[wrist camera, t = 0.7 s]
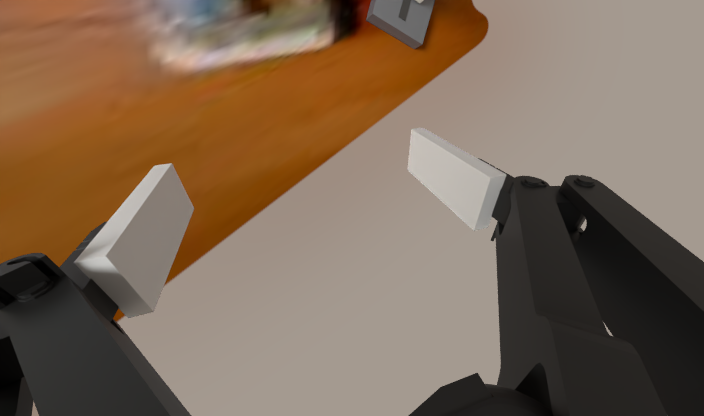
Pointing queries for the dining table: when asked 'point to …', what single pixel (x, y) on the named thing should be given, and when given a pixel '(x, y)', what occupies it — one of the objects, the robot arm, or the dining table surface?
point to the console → (402, 19)
